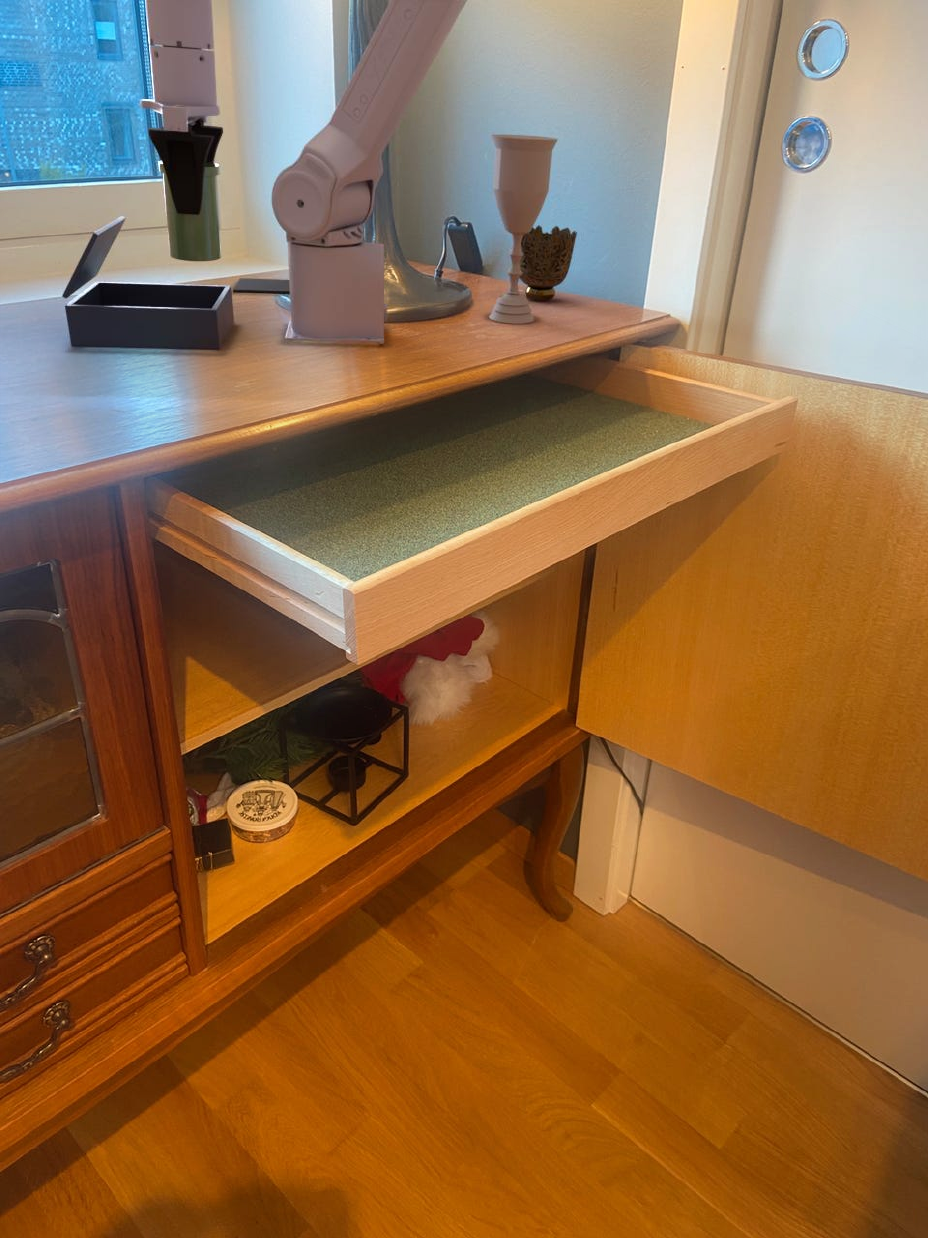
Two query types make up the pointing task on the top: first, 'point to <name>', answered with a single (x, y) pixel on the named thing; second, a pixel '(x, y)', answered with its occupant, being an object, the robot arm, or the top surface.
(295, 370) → the top surface
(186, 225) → the pot
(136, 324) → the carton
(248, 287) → the mat
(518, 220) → the chalice
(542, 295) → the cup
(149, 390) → the top surface
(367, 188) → the robot arm
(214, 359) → the top surface
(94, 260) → the flap
